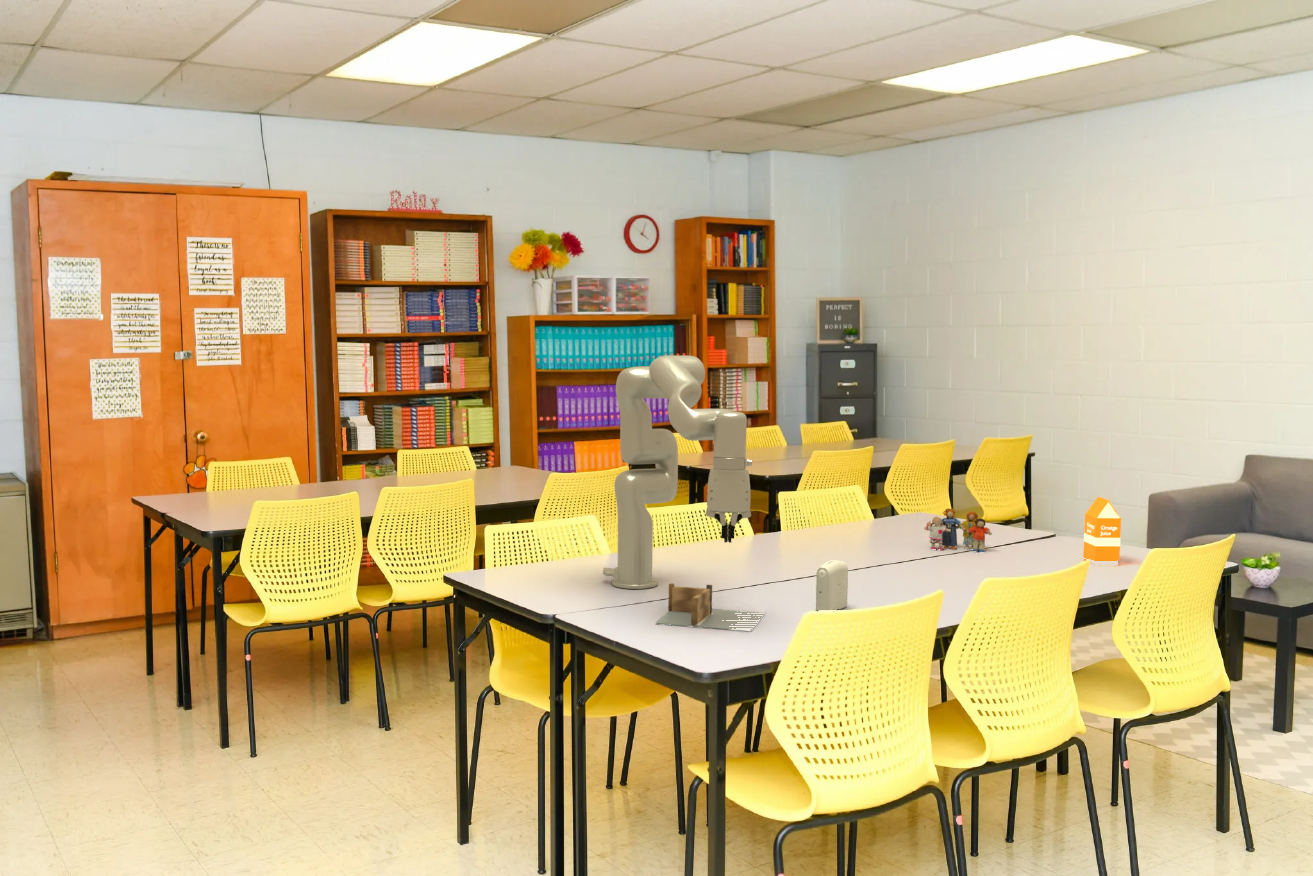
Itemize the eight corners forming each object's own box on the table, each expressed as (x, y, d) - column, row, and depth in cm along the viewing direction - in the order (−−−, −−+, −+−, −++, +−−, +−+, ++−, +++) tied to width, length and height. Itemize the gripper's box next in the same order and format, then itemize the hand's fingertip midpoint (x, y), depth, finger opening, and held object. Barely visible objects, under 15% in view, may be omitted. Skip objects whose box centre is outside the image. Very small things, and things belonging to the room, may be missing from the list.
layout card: (654, 624, 264) (654, 622, 264) (674, 607, 282) (674, 605, 282) (751, 631, 258) (751, 630, 258) (765, 614, 276) (765, 612, 276)
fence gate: (704, 612, 274) (705, 588, 273) (710, 613, 273) (710, 589, 273) (690, 624, 263) (690, 598, 262) (696, 624, 262) (696, 599, 262)
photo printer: (828, 614, 276) (829, 564, 275) (813, 611, 279) (814, 562, 278) (849, 607, 284) (850, 559, 283) (834, 604, 286) (836, 556, 285)
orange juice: (1107, 560, 351) (1110, 496, 349) (1119, 565, 342) (1122, 500, 340) (1082, 560, 351) (1085, 496, 349) (1094, 565, 342) (1097, 500, 340)
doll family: (923, 550, 365) (924, 509, 364) (923, 545, 374) (924, 505, 373) (991, 553, 361) (993, 512, 359) (989, 548, 370) (990, 508, 369)
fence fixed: (667, 611, 276) (668, 582, 276) (669, 609, 278) (669, 581, 277) (711, 614, 273) (711, 586, 273) (712, 613, 275) (712, 584, 274)
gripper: (760, 463, 267) (758, 539, 269) (697, 461, 268) (695, 537, 270) (762, 467, 260) (760, 545, 262) (697, 465, 260) (696, 543, 262)
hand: (727, 541), depth 266 cm, fingers closed
